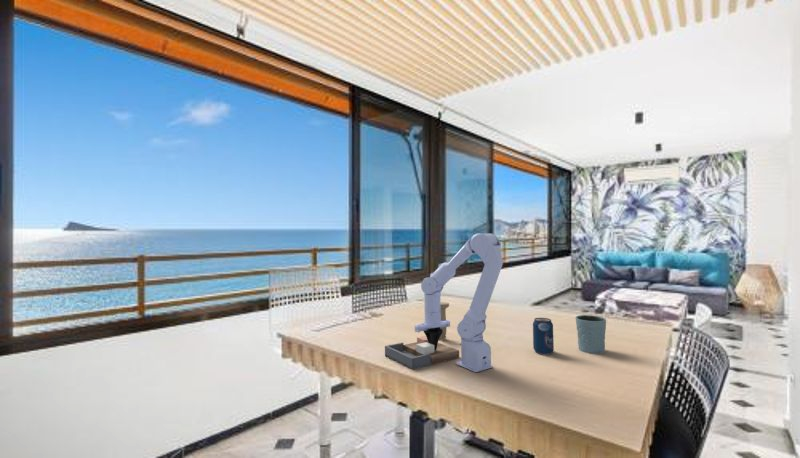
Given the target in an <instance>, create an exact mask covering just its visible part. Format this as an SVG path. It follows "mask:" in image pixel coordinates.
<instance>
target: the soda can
mask: <svg viewBox="0 0 800 458" xmlns="http://www.w3.org/2000/svg"><path fill="white" fill-rule="evenodd" d="M532 322H533V323H532V338H533V340H532V343H533V344H532V345H533V347H532V348H533V350H534V351H535V353H537V354H539V355H545V356H546V355H547V356H548V355H552V354H553V352H554V349H555V348H554V346H555V345H554V324H553V322H552V319H550V318H548V317H547V318H546V317H536V318H535V317H534V321H532Z"/></svg>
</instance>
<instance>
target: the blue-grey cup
mask: <svg viewBox="0 0 800 458" xmlns="http://www.w3.org/2000/svg"><path fill="white" fill-rule="evenodd" d="M575 323H576V331H577V346H578V347H577V348H578V350H579V351H581V352H583V353H586V354H587V353H588V354H593V355H599V354H600V355H601V354H604V353H605V349H606V341H605V340H606V328H607V319H606V318H605V317H603V316H598V315H593V314H592V315H591V314H589V315H588V314H581V315H580V314H579V315H577V316H575Z"/></svg>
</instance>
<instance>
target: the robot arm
mask: <svg viewBox="0 0 800 458" xmlns="http://www.w3.org/2000/svg"><path fill="white" fill-rule="evenodd" d="M501 247H502V243H501V242H500V240H499V238H498V236H496V234H494V233H490V232H489V233H488V232H487V233H480V232H479V233H475V234H473V236H471V237H470V238H469V239H468V240H467V241H465V243H464V245H463V246H462V247H461V248H460V249H459V250H458V252H457V253H456V254H455V255H454V256H453V257H452V258H451V259H450V260H449V262H443V263H439V264H438V265H437V269H435V271H433V272H431V273H430V274H429V277H425V278H423V280H422V282H420V286H421V287H420V288H421V290H422V291H421V292H423V293H424V297H423V299H424V322H423V323H420V324H417V325H414V332H415V333H421V332H423V333H424V336H426V337H427V339H428V342H429V343H430V344H433V345H434V350H436V349H437V344H438V343H439V341H440V340H439V338H440V336H441V334H442V329H440V328H442V327H447V328H449V327H451V321H450V320H447V319H446V321H441V303H440V302H441V296H442V295H441V292H442V291H443V290H444V286H445V285H446V284H447V283H448V282H449V281H450V280H452V279H453V277H454V276H456V270H457V269H458V268H459V267H460V266H461V265H462V264H463V263H464V262H466V261H467V260H468V259H469V258H470V257H471V256H472V255H477V256H479V258H480V259H481V260H482V262H483V265H484V266H483V268H482V272H481V275H480V278H479V281H478V284H477V285H476V289H475V291H474V295H473V297H472V300H471V303H470V306H469V309H468V310H467V311H466V313H465V314H464V315H463V319H462V320H461V321H459V322H458V324H457V326H456V329H457V334H458V335H459V337H460V348H461V349H460V350H461V351H460V352H461V353H460V355H461V356H460V359H461V360H460V361H457V362H455V364H456V365H457V366H460V367H463V368H465V369H467V370H470V371H472V372H474V373H478V372H481V371H485V370H487V369H488V370H489V369H491V368H493V367H494V366H493V365H492V352H491V351H492V348H491V346H490V344H489V342H486V341H485V340H484V335H483V333H484V332H485V330H486V327H487V325H486V324H487V323H486V320H487V314H486V312H487V309H488V306H489V305H490V304H489V303H490V302H491V299H492V295H493V292H494V289H495V287H496V284H497V281H498V278H499V275H500V273H501V269H502V267H503V265H504V264H503V263H504V261H503V256H502V249H501Z"/></svg>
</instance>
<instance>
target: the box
mask: <svg viewBox="0 0 800 458" xmlns="http://www.w3.org/2000/svg"><path fill="white" fill-rule="evenodd" d="M404 345H405V344H404V342H398V343H393V344H388V345H385V346H384V356H385V357H387V358H389V359H390V360H393V361H395V363H399V364H400V365H402V366H404V367H406V368H407V369H410V370H415V369H421V368H423V367H427V366H431V365H432V366H433V364H432V363H431V356H430V354H425V355H421V356H415V355H413V354H411V353H409V352H406V351H404Z"/></svg>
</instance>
